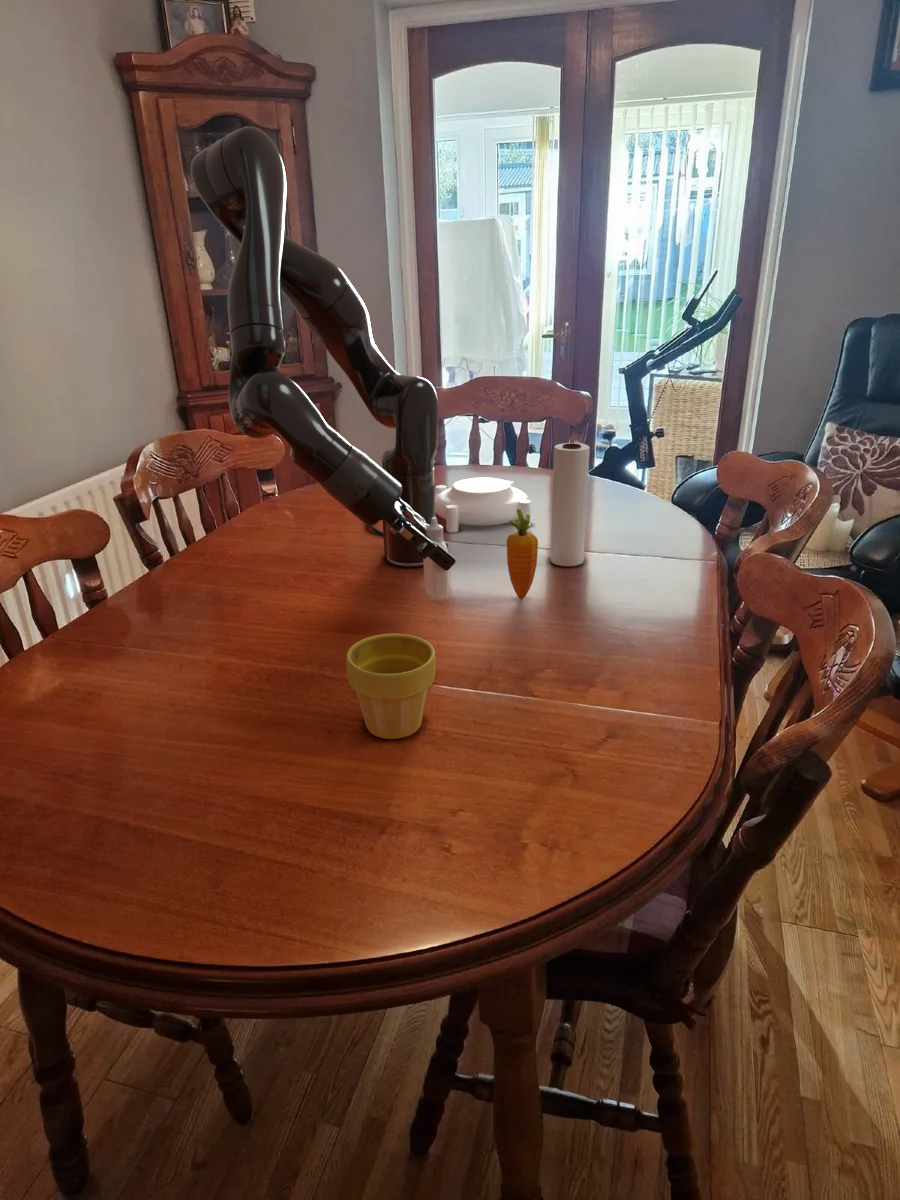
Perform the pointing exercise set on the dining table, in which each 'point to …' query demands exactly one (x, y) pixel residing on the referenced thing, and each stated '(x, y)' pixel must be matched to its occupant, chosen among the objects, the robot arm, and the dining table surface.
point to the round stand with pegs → (480, 502)
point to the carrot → (521, 555)
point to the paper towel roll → (569, 503)
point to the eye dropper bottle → (435, 567)
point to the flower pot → (391, 682)
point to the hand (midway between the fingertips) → (447, 557)
